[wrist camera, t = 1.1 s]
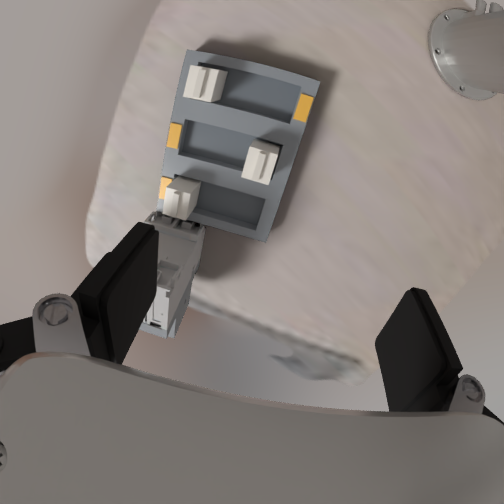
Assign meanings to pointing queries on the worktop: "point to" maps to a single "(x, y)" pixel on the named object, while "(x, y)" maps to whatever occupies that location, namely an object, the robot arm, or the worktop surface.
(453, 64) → the robot arm
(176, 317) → the circuit breaker
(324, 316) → the worktop surface
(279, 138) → the switch bank
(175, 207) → the tab
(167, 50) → the worktop surface
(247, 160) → the tab
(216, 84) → the tab
